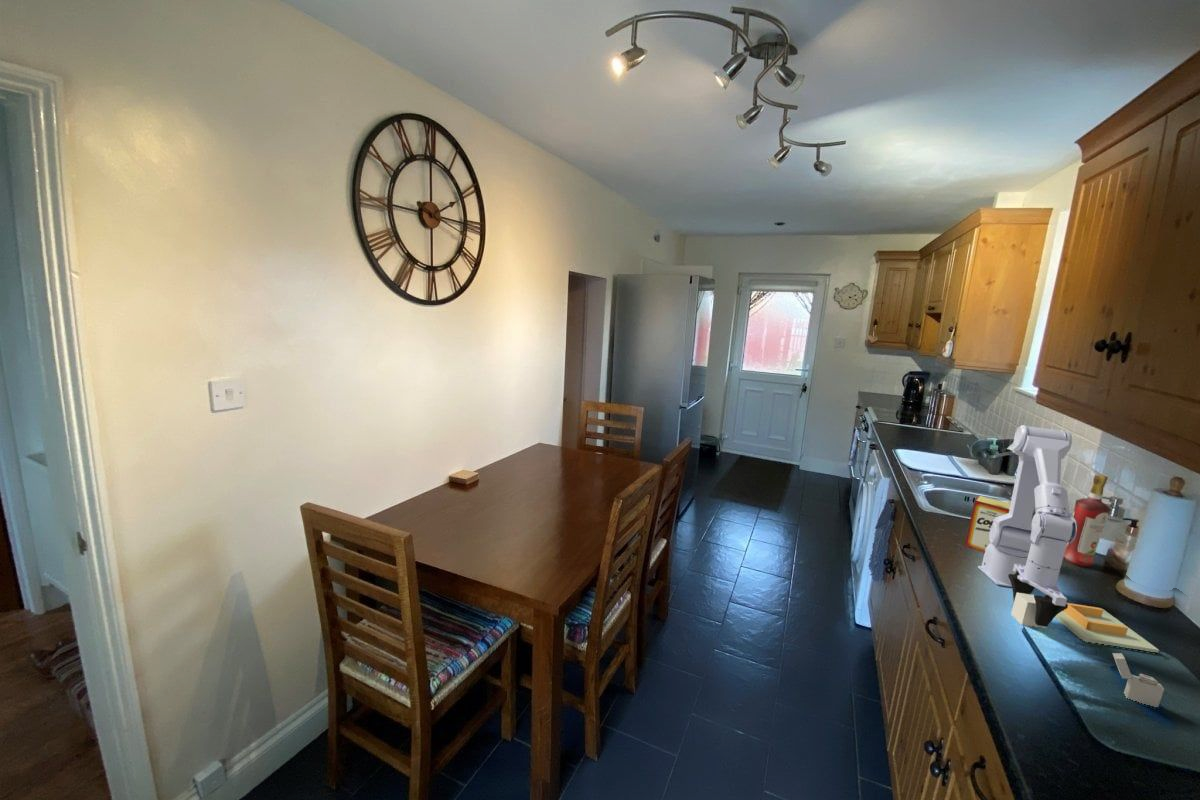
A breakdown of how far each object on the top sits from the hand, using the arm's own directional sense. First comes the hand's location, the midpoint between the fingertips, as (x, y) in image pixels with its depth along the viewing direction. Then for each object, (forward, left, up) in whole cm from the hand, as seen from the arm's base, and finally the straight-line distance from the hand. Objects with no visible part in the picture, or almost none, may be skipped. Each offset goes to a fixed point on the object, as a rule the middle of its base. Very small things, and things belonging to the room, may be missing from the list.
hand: (1029, 614), depth 112 cm
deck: (-3, +15, -2) cm, 15 cm away
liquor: (-39, +36, -2) cm, 53 cm away
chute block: (0, 0, -2) cm, 2 cm away
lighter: (+22, +4, -2) cm, 22 cm away
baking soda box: (-40, +12, -2) cm, 41 cm away
